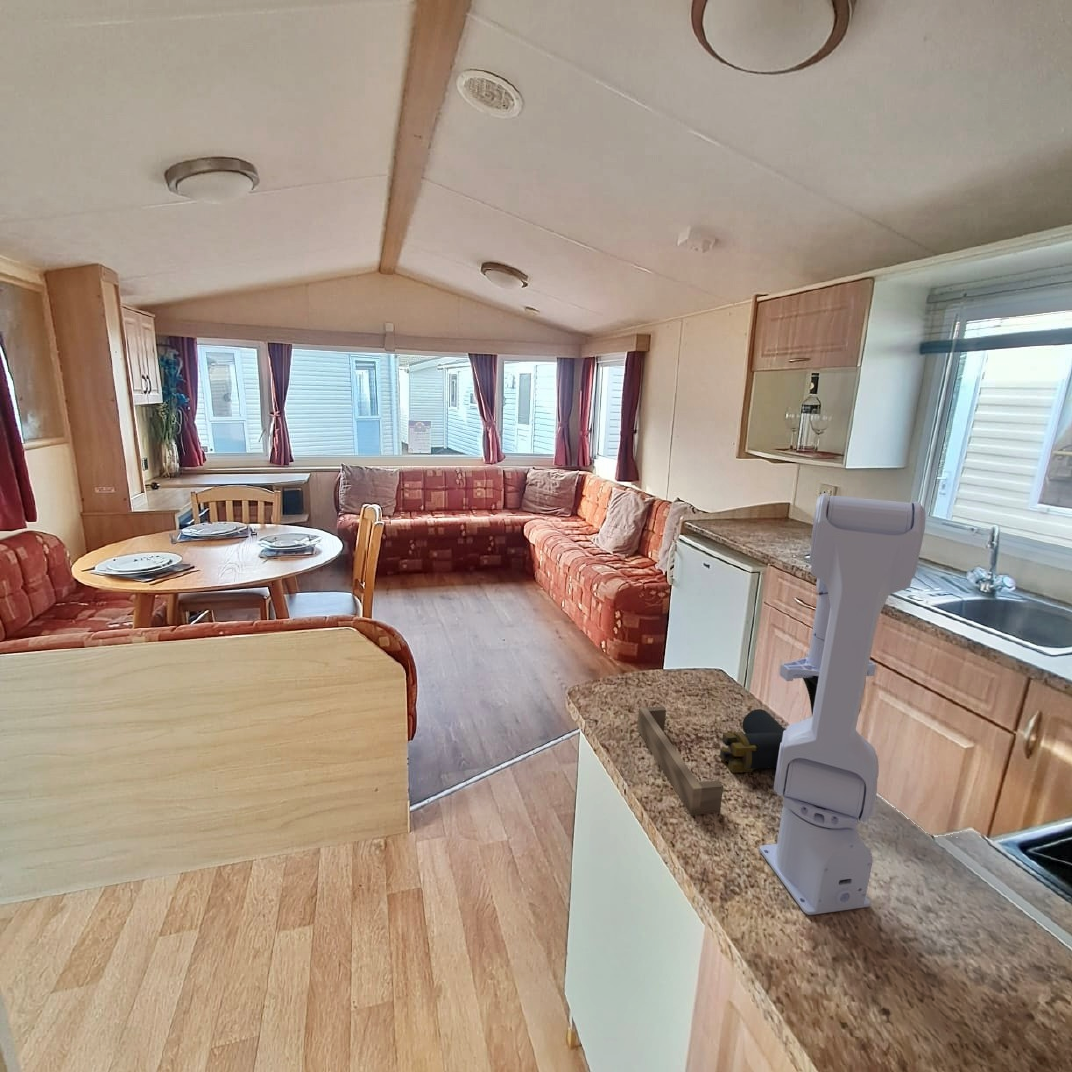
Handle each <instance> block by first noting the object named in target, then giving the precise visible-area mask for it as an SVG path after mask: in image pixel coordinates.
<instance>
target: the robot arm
mask: <svg viewBox="0 0 1072 1072" xmlns="http://www.w3.org/2000/svg"><path fill="white" fill-rule="evenodd" d="M812 523H813V524H812V530H811V531H812V532H811V536H810V544H809V545H810V553H809V560H808V564H809V565H810V574H811V575H812V576H814V577H815V578H816V585H815V587H816V593H818V594H817V599H816V605H815V612H814V619H813V624H812V625H813V626H812V631H811V637H810V643H809V644H810V645H809V651H808V652H807V653H806V657H802V658H799V659H796V660H794V661H793V660H792V661H789V662H782V663H780V668H779V676H780V677H781V678H782V679H784V680H785V681H786V682H793V681H794V679H802V680H803V681H804V684H805V687H806V690H807V694H808V698H809V703H810V710H811V716H810V717H808V718H806V719H803V720H800V721H796V722H794V723H791V724H788V725H786V728H785V730H784V731H783V737H782V742H781V743H780V749H779V755H778V762H777V768H775V769H776V770H775V776H774V784H773V789H774V791H775V793H776V795H777V796H779V797H782V798H783V799H782V810H781V817H780V822H779V829H778V835H777V840H776V841H777V842H776V843H774V844H764V845H760V846H759V848H758V849H759V852H760V854H761V855H762V856H763V857H764V859H765V860H766V861H767V863H768V865H769V866H770V867H771V869H772V871H774V873H775V874H776V876H777V877H778V878H779V880H780V881H781V882H782V884H783V886H785V889H787V891H788V893H790V895H791V896H792V898H793V899H794V900H795V902H796V903H797V904H798V906H799V907H800V909H801V910H802V911H803V913H805V914H806V915H807V916H808V915H809V916H810V915H811V916H812V915H820V914H825V913H832V912H840V911H841V912H842V911H848V910H854V909H863V908H868V907H870V906H871V900H870V899H869V898H868V897H867V891H868V886H869V882H870V876H871V872H872V866H873V855H872V852H871V850H870V849H869V847H868V846H867V845H866V842H864V840H863V839H862V837H861V835H860V833H859V830H858V827H857V825H858V822H859V821H861V822H863V823H864V822H865V823H866V822H867V821H868V820H869V819H871V818H872V816H873V814H874V811H875V806H876V800H877V791H878V777H879V774H880V773H879V767H880V766H879V757H878V755H877V752H876V749H875V748H874V746H873V745H872V744H871V743H870V742H869V741H868V740H867V739H866V738H865V737H864V736H863V735H861V733H859V731H857V726H858V720H859V715H860V710H861V706H862V699H863V694H864V689H865V684H866V680H867V677H874V676H875V673H876V670H877V669H876V668H877V664H876V663H875V662H873V661H871V654H872V649H873V645H874V640H875V634H876V630H877V623H878V621H879V617H880V615H881V612H882V611H883V608H884V606H885V604H886V602H887V601H888V600H887V599H888V598H889V596H890V595H892V594H894V593H898V592H900V591H905V590H907V589H910V588H911V583H912V580H913V579H914V578H915V576H916V574H917V570H918V569H917V568H918V563H919V559H920V555H921V550H922V545H923V541H924V535H925V529H926V509H925V508H924V507H923V505H922V503H921V502H919V501H912V502H905V501H895V500H885V499H884V500H883V499H873V498H864V497H863V498H862V497H853V496H852V497H851V496H842V495H829V493H828V492H827V493H825V492H824V493H822V494H821V495H820V496H818V497H817V498H816V504H815V511H814V517H813V522H812Z"/></svg>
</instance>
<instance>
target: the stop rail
mask: <svg viewBox="0 0 1072 1072" xmlns="http://www.w3.org/2000/svg"><path fill="white" fill-rule="evenodd" d="M666 713H667V709H666V708H665V706H663V705H661V706H659V705H658V706H645V707H639V708H638V716H637V728H636V729H637V731H638V733H639V734H641V735H640V736H641V738H642V739H643V741H644V742H645V745H646V746H647V747H648V749H649V751H650V752H651V753H652V756H653V757H654V759H655V761H656V762H657V763H658V766H659V767H660V768H661V770H662V771H663V773H664V774H665V776H666V778H667V779H668V782H669V783H670V784H671V786H672V788H673V789H674V791H675V792H676V794H677V796H678V797H679V799H680V800H681V802H682V804H683V806H684V807H685V809H686V810H687V812H688V813H689V815H690V816H697V815H699V816H700V815H707V814H714V813H715V814H718V813H721V808H722V807H721V806H722V801H723V800H722V799H723V794H724V792H723V791H724V784H722V783H721V781H720V780H708V781H707V780H706V781H698V780H697V779H696V777H695V776H694V774H693V773H692V771H691V770H690V768H689V767H688V766H687V764H686V763H685V760H683V758H682V757H681V756H680V754H679V753H678V752H677V750H676V749H675V747H674V745H673V744H672V743H671V740H670V739H669V738H668V736H667V735H666V734H665V724H666Z"/></svg>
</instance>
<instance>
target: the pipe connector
mask: <svg viewBox="0 0 1072 1072" xmlns="http://www.w3.org/2000/svg"><path fill="white" fill-rule="evenodd" d="M741 727H742V730H743V731H735V732H733V731H732V732H723V733H722V736H721V737H722V738H721V742H722V743H723V744H724V745H725V746H727V747H725V748H724V747H723V748H722V747H721V748H720V751H719V757H720V759H721V760H722V761H723V762H728V765H727V768H728V769H729V770H730V771H731V773H748V772H749V773H753V771H754V770H762V769H764V770H765V769H766V770H767V769H777V762H778V755H779V749H780V743H781V742H782V737H783V731H784V730H786V728H784V726H783V725H781V724H780V723H779V722H778V721H777V720H776V719H775V718H774V717H773V716H772V715H771V714H770V713H769V712H768V711H766V710H765V709H759V708H758V709H754V710H751V711H750V712H747V714H746V715H745V716H744V718H743V720H742V726H741Z"/></svg>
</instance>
